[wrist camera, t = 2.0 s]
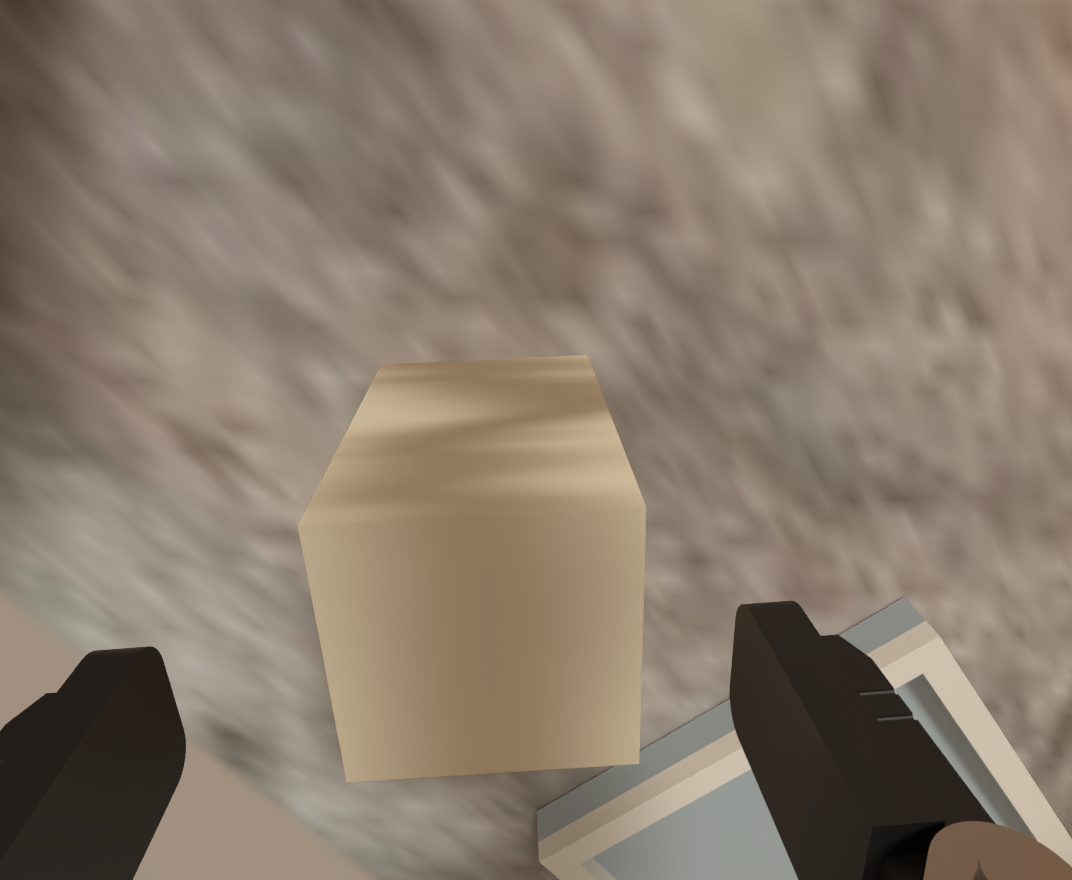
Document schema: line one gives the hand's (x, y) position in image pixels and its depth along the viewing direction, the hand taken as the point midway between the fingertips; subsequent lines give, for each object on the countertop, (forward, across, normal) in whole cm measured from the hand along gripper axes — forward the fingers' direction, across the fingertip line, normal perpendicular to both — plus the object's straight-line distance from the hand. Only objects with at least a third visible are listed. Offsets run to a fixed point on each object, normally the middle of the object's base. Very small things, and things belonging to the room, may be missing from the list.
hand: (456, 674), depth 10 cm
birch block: (+7, -1, 0) cm, 7 cm away
